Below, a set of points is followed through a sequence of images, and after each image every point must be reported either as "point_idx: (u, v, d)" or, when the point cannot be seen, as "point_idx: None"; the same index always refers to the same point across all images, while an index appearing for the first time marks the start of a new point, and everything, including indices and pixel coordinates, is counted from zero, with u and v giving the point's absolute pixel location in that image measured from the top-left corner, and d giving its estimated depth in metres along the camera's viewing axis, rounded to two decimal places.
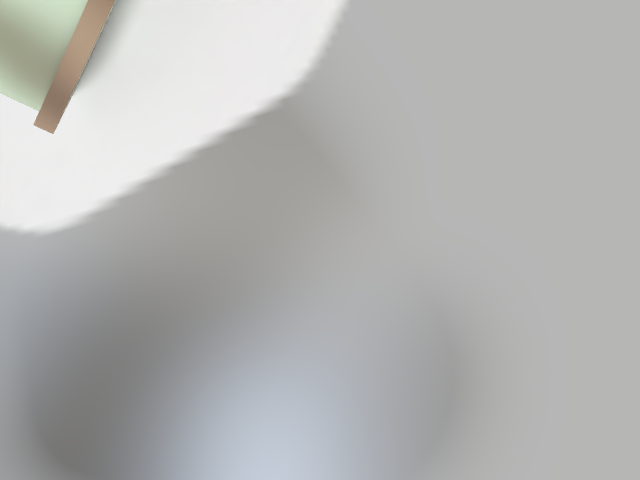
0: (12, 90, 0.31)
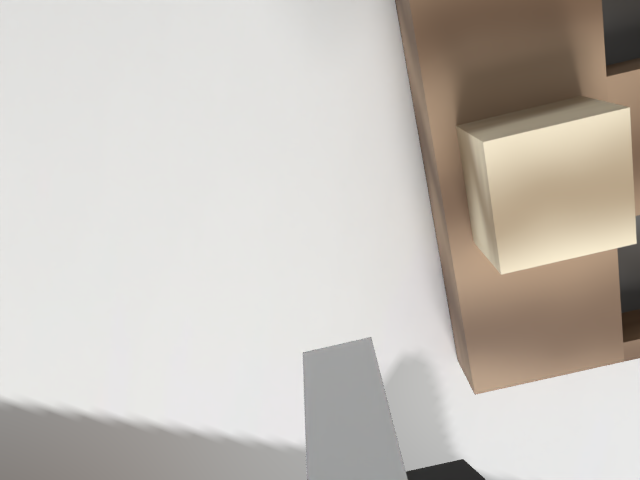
0: None
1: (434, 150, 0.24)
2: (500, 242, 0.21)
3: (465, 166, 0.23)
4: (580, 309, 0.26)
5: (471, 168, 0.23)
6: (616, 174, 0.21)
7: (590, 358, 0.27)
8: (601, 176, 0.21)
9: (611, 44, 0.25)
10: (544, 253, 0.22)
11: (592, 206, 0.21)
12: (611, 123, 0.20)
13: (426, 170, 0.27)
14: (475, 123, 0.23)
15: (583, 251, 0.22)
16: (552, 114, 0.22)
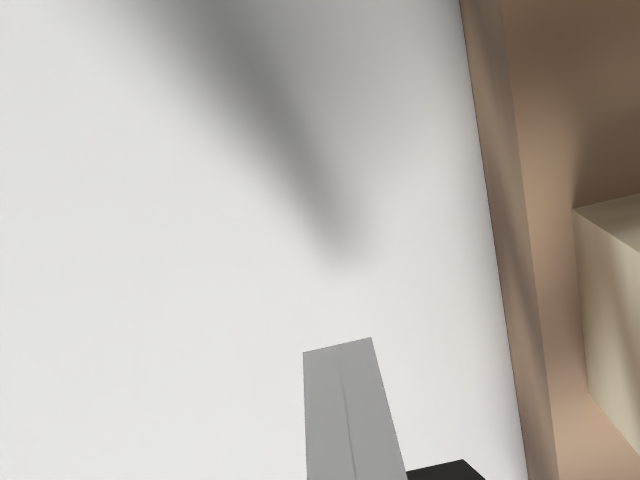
0: None
1: (531, 250, 0.14)
2: None
3: (588, 280, 0.13)
4: None
5: (607, 291, 0.13)
6: None
7: None
8: None
9: None
10: None
11: None
12: None
13: (502, 265, 0.17)
14: (609, 207, 0.13)
15: None
16: None
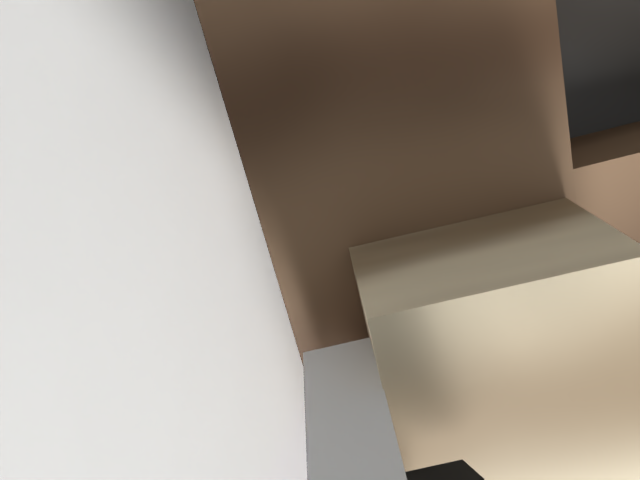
0: None
1: (282, 294, 0.14)
2: None
3: (365, 317, 0.14)
4: None
5: (368, 331, 0.13)
6: (628, 370, 0.11)
7: None
8: (599, 374, 0.11)
9: (585, 103, 0.15)
10: None
11: (582, 425, 0.11)
12: (618, 283, 0.10)
13: None
14: (379, 247, 0.13)
15: None
16: (509, 246, 0.12)
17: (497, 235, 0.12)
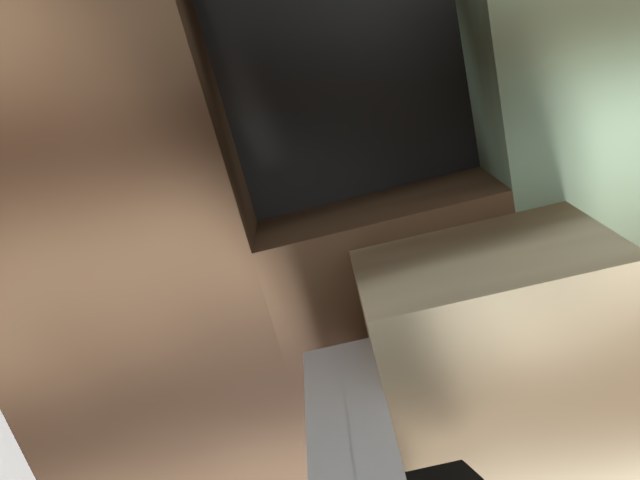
0: None
1: None
2: None
3: None
4: None
5: (369, 335, 0.13)
6: (628, 373, 0.11)
7: None
8: (599, 378, 0.11)
9: (304, 179, 0.15)
10: None
11: (582, 428, 0.11)
12: (618, 286, 0.10)
13: None
14: (380, 250, 0.13)
15: None
16: (509, 249, 0.12)
17: (497, 238, 0.12)
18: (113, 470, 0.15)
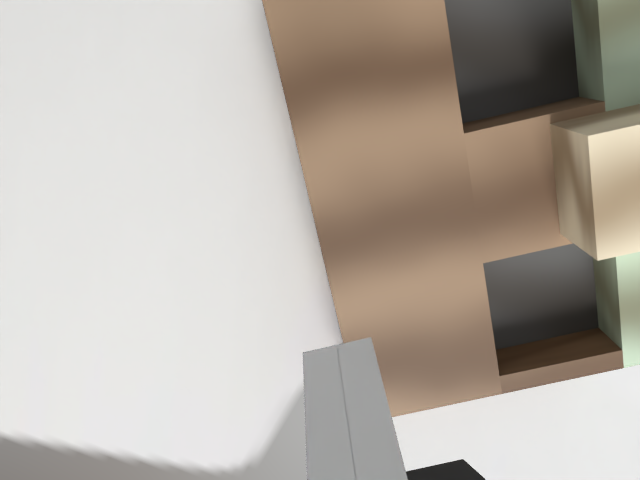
0: None
1: (309, 198, 0.26)
2: (598, 230, 0.23)
3: (558, 161, 0.25)
4: (456, 344, 0.28)
5: (567, 162, 0.24)
6: None
7: (469, 390, 0.29)
8: None
9: (479, 101, 0.27)
10: (638, 241, 0.23)
11: None
12: None
13: None
14: (569, 121, 0.25)
15: None
16: None
17: (636, 111, 0.24)
18: (369, 263, 0.27)
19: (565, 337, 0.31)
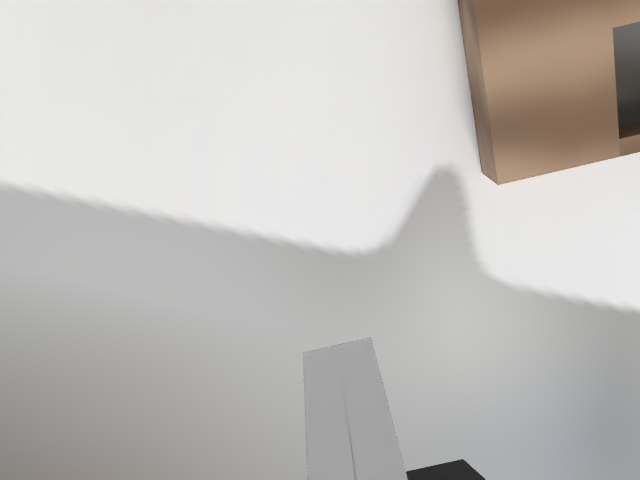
0: None
1: None
2: None
3: None
4: (584, 107, 0.33)
5: None
6: None
7: (592, 153, 0.34)
8: None
9: None
10: None
11: None
12: None
13: None
14: None
15: None
16: None
17: None
18: (515, 27, 0.31)
19: None
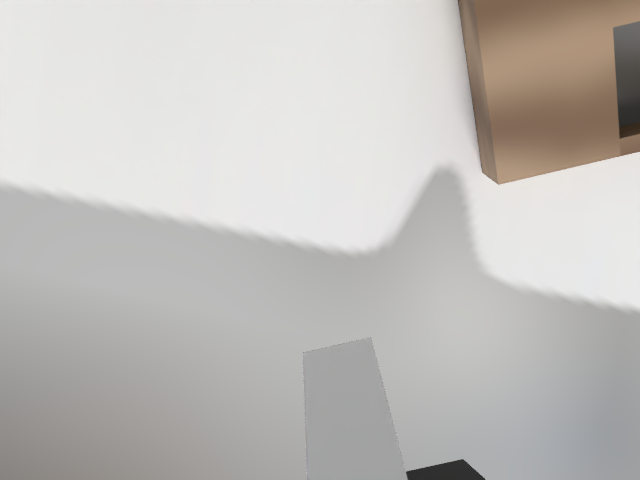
0: None
1: None
2: None
3: None
4: (584, 107, 0.33)
5: None
6: None
7: (592, 153, 0.34)
8: None
9: None
10: None
11: None
12: None
13: None
14: None
15: None
16: None
17: None
18: (515, 27, 0.31)
19: None
